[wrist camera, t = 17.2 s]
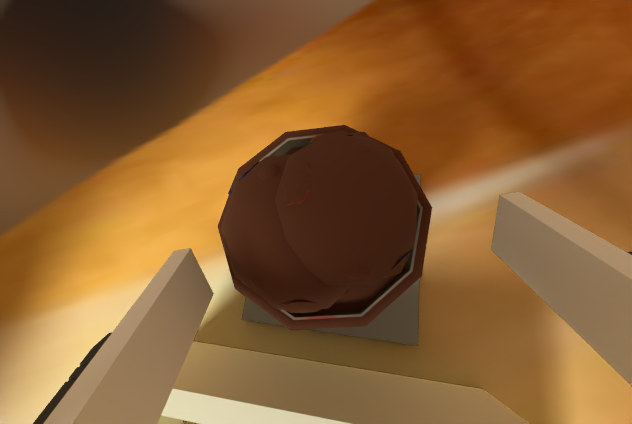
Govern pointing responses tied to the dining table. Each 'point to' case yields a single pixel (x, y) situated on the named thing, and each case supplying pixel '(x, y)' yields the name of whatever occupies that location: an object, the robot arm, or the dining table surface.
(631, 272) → the robot arm
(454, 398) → the drawer
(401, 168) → the ice cream bowl
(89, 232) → the dining table surface
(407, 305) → the slate mat
